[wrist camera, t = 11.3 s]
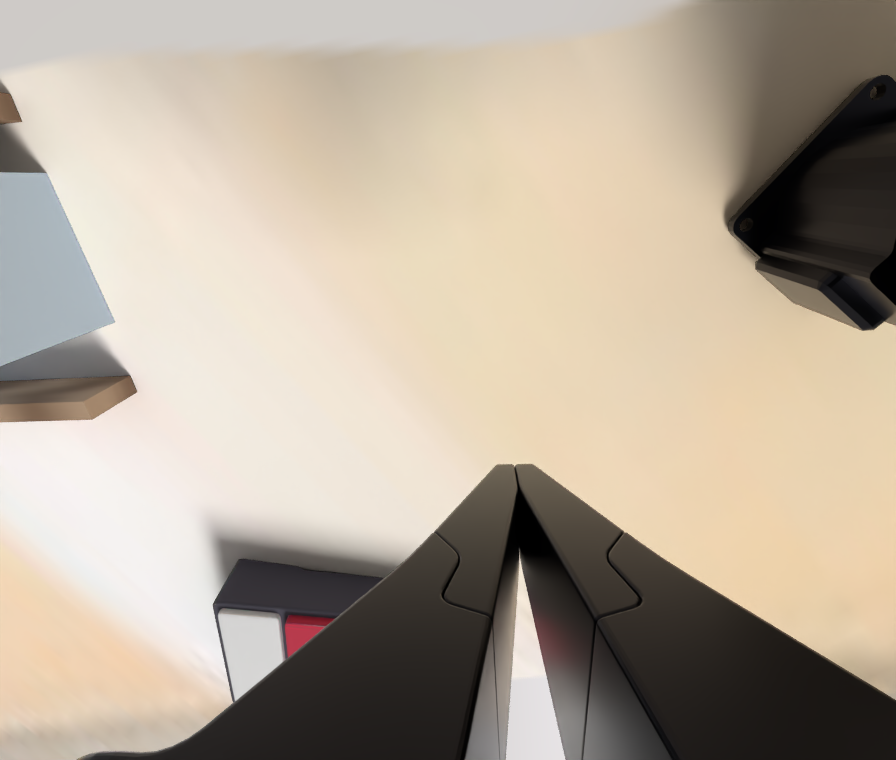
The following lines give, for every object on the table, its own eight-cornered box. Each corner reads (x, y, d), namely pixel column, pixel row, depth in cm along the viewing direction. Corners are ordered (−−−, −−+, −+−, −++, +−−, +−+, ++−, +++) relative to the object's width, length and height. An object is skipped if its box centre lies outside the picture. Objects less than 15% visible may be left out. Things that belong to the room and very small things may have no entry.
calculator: (440, 736, 30) (227, 717, 30) (443, 672, 34) (253, 655, 34) (457, 636, 26) (203, 613, 25) (457, 575, 29) (238, 555, 29)
